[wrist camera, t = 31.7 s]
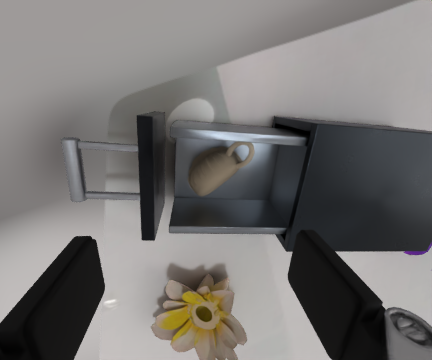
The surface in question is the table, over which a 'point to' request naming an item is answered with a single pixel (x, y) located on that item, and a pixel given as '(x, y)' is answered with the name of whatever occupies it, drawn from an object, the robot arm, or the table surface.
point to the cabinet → (362, 186)
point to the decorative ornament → (216, 167)
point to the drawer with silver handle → (183, 195)
